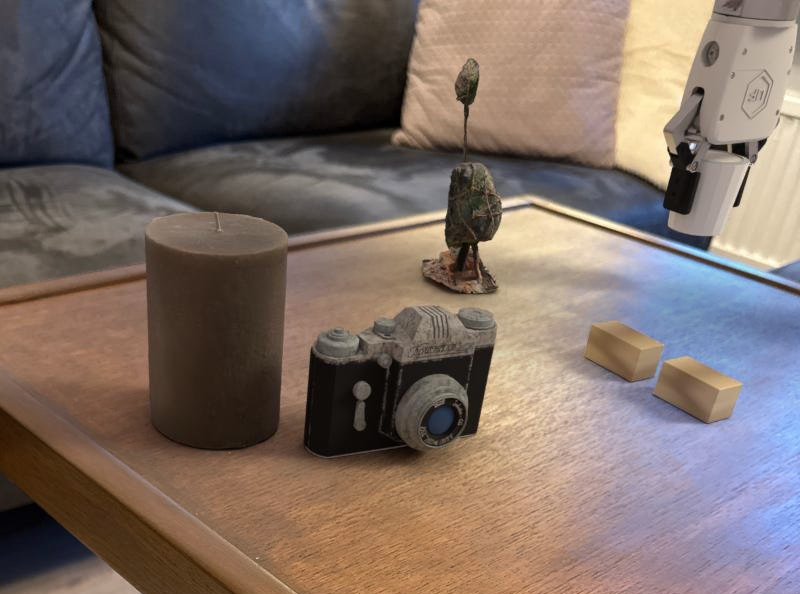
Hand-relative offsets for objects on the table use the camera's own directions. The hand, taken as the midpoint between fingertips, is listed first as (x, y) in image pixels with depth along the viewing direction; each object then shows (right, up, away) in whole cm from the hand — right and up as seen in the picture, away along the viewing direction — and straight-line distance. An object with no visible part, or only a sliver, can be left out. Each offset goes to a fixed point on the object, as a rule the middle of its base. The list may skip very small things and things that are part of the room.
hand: (700, 206), depth 102 cm
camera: (-33, -31, -28) cm, 53 cm away
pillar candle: (-47, -29, -28) cm, 62 cm away
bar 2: (-8, -25, -19) cm, 32 cm away
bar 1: (-13, -20, -13) cm, 27 cm away
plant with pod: (-25, -8, +1) cm, 26 cm away
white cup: (0, -2, +1) cm, 2 cm away
